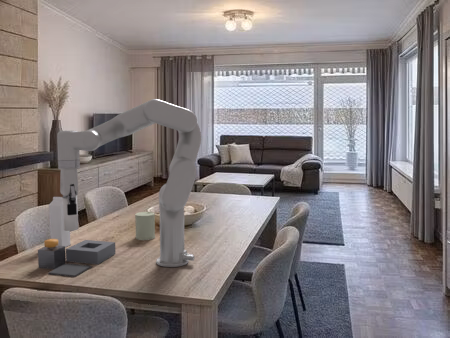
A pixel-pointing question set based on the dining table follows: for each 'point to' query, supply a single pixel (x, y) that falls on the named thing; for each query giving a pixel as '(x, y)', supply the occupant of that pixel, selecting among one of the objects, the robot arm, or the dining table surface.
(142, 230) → the can
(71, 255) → the block
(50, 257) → the dark grey cube
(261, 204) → the dining table surface
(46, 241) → the plunger
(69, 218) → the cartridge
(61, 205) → the milk
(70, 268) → the mat
